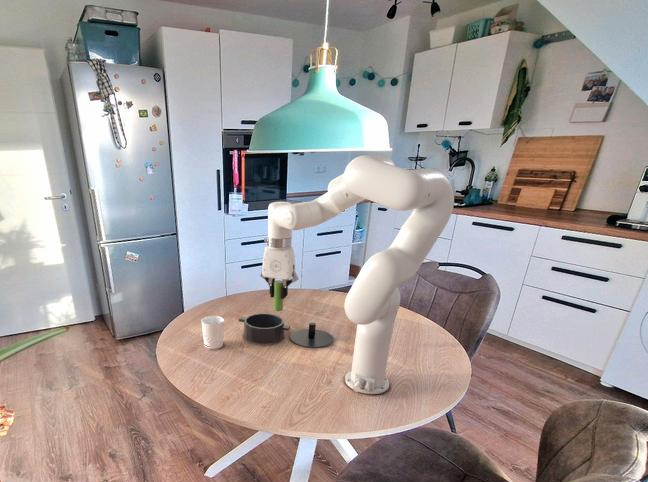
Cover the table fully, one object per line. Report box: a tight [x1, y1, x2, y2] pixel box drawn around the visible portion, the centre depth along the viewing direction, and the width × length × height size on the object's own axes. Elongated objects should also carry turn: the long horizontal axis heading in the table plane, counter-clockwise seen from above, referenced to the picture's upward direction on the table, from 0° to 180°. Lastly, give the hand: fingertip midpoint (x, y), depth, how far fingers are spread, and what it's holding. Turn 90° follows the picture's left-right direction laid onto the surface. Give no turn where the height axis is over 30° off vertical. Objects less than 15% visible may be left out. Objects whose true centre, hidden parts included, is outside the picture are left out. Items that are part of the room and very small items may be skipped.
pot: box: [238, 312, 291, 345], centre depth 145 cm, size 15×20×6 cm
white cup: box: [200, 315, 225, 350], centre depth 137 cm, size 8×8×10 cm
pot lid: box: [289, 321, 334, 349], centre depth 141 cm, size 16×16×7 cm
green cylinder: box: [273, 279, 284, 312], centre depth 131 cm, size 3×3×10 cm
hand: (278, 296), depth 131 cm, fingers closed on green cylinder, 3 cm apart
